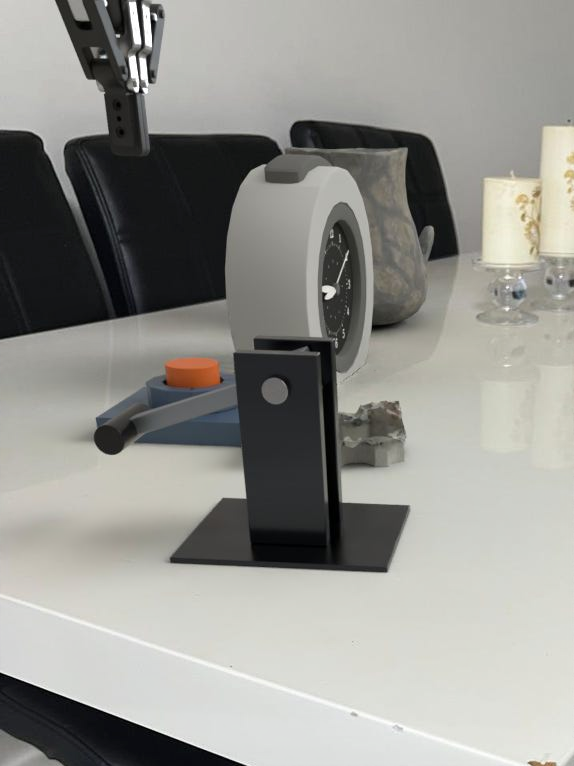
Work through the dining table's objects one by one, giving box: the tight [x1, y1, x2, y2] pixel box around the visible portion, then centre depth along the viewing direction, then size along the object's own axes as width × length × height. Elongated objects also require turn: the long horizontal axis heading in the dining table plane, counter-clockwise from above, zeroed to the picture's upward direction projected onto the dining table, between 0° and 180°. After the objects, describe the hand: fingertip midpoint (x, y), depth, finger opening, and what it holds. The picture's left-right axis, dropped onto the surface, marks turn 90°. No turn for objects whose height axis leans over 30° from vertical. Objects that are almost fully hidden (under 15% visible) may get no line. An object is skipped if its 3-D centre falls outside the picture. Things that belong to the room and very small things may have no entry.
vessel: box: [283, 146, 435, 326], centre depth 121 cm, size 22×22×20 cm
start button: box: [164, 357, 220, 388], centre depth 77 cm, size 4×4×2 cm
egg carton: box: [338, 400, 408, 468], centre depth 72 cm, size 11×8×4 cm
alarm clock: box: [224, 153, 373, 385], centre depth 95 cm, size 21×8×20 cm, turn 170°
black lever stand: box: [169, 335, 411, 573], centre depth 56 cm, size 12×10×12 cm
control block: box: [95, 371, 242, 448], centre depth 78 cm, size 12×10×4 cm
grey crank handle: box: [93, 346, 323, 456], centre depth 55 cm, size 12×5×2 cm, turn 87°
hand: (131, 155), depth 68 cm, fingers closed
